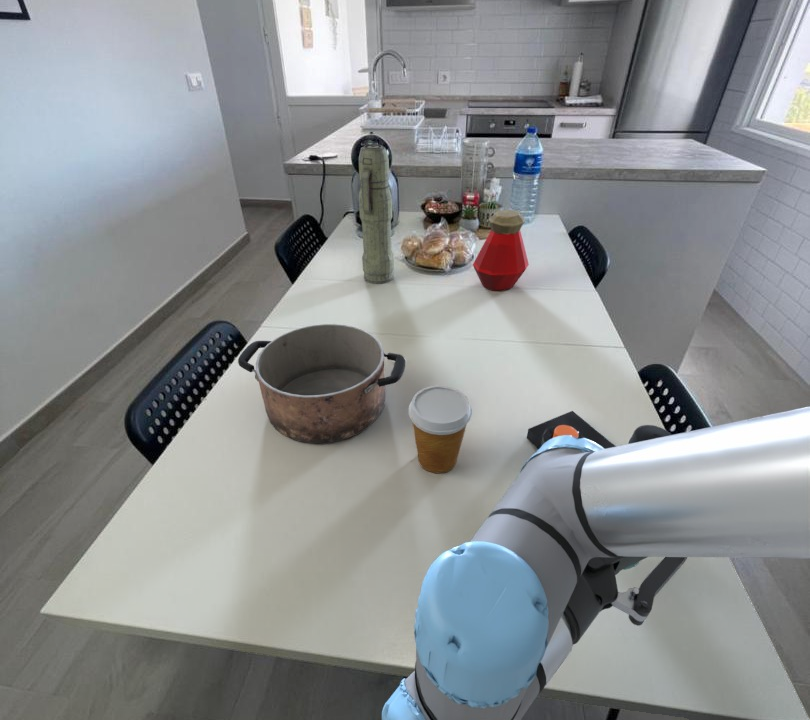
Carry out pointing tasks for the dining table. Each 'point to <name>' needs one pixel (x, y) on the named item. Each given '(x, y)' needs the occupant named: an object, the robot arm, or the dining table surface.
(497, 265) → the bottle
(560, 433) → the button
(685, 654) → the dining table surface
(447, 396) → the disposable coffee cup
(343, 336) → the cooking pot
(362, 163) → the thermos
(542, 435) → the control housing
